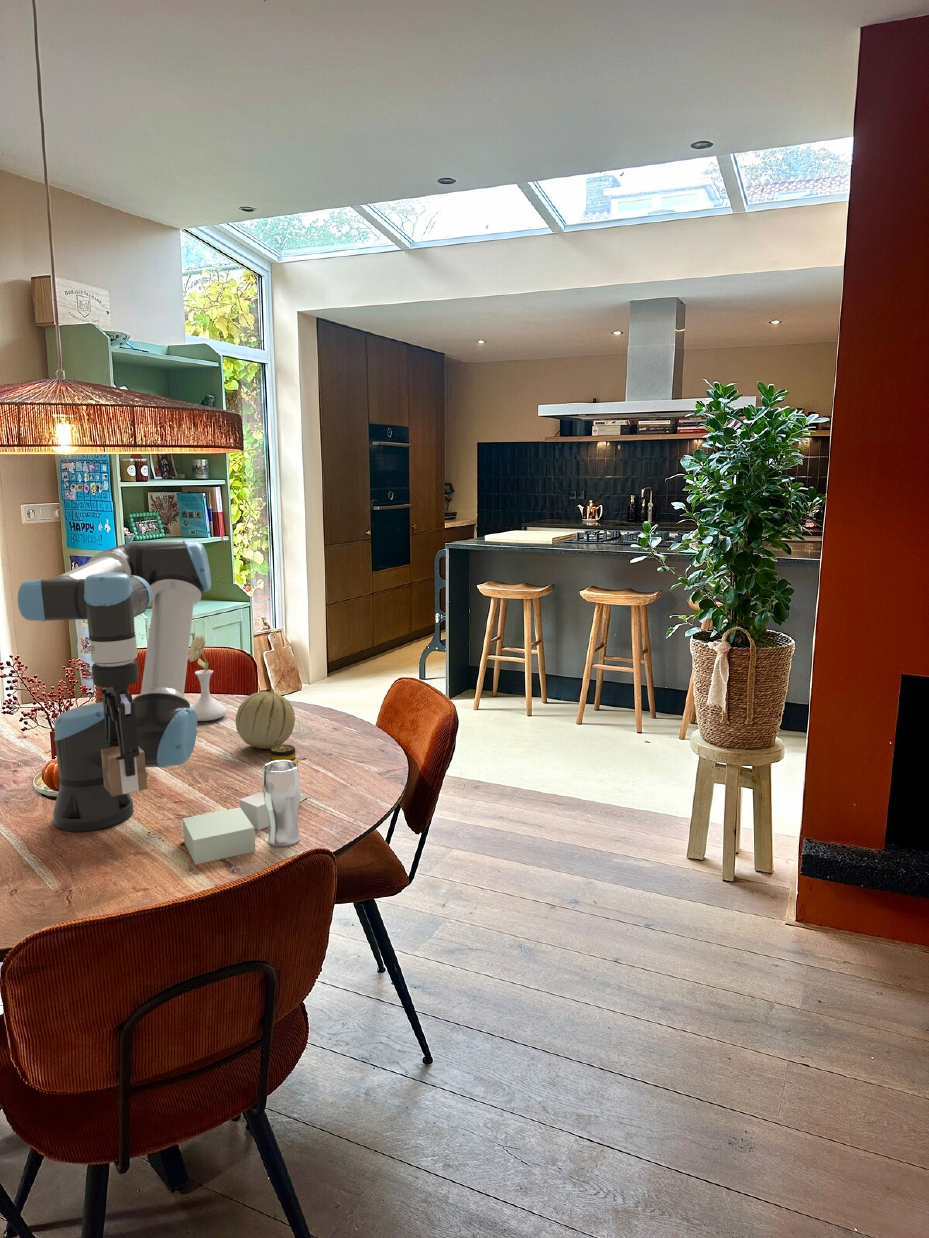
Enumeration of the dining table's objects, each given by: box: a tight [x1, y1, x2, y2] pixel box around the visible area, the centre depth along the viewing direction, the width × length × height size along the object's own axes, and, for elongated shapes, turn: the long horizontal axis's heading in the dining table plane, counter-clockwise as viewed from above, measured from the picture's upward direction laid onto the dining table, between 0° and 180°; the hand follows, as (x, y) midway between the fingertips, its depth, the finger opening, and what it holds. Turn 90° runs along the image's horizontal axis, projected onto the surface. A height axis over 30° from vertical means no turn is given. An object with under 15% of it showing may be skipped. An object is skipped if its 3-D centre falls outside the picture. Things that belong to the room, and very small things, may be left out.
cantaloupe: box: [235, 688, 296, 750], centre depth 215 cm, size 15×15×15 cm
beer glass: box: [262, 760, 301, 848], centre depth 161 cm, size 7×7×15 cm
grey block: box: [239, 790, 270, 831], centre depth 171 cm, size 6×6×5 cm
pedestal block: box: [182, 806, 257, 865], centre depth 159 cm, size 11×11×5 cm
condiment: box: [268, 744, 309, 803], centre depth 181 cm, size 7×8×12 cm
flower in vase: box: [188, 634, 228, 722], centre depth 239 cm, size 13×11×25 cm
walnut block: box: [101, 746, 148, 797], centre depth 152 cm, size 6×6×7 cm
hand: (125, 785), depth 152 cm, fingers closed on walnut block, 6 cm apart
